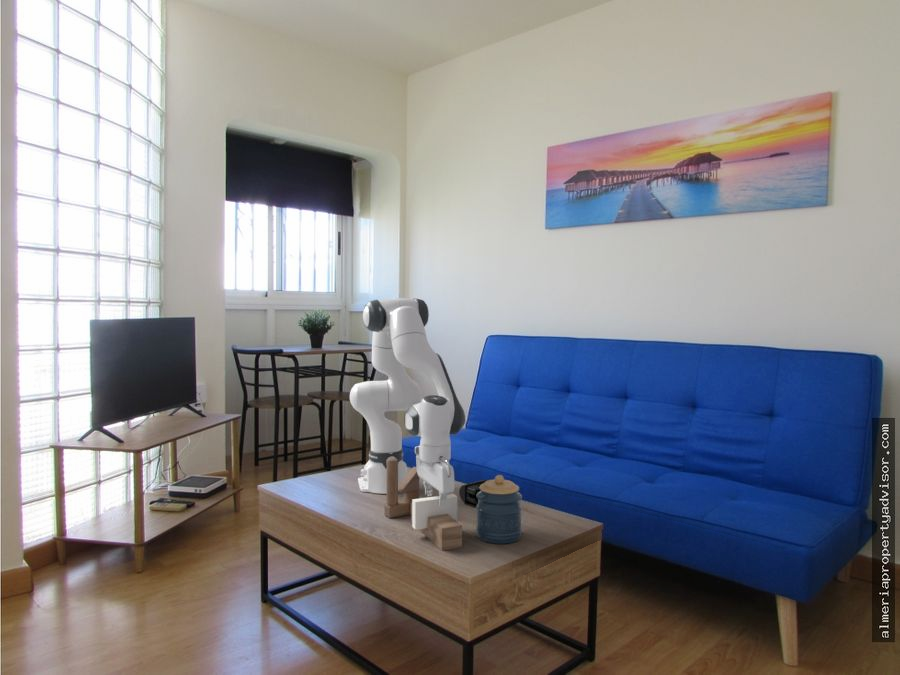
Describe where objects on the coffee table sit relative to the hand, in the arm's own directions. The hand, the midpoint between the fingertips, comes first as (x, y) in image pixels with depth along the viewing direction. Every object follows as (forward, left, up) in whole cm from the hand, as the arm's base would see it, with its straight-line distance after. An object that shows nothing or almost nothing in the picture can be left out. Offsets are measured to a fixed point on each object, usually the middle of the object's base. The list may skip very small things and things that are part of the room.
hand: (435, 500), depth 179 cm
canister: (+9, +16, -10) cm, 21 cm away
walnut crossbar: (0, 0, -10) cm, 10 cm away
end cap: (-21, +24, -10) cm, 33 cm away
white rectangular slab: (0, 0, -7) cm, 7 cm away
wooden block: (-20, -3, -10) cm, 22 cm away
